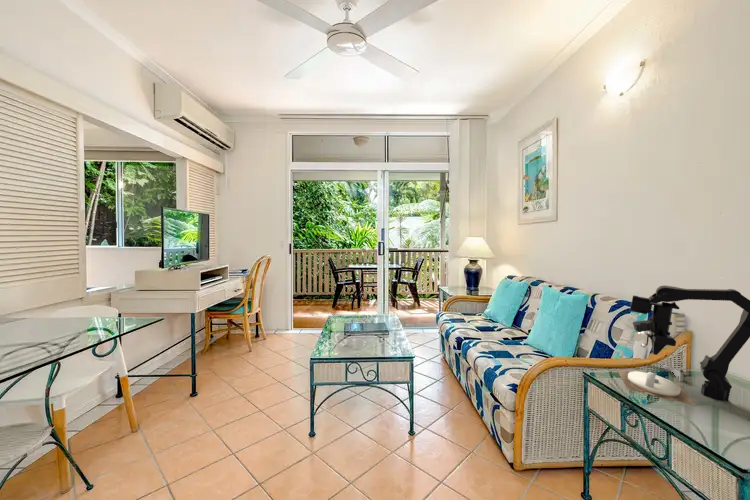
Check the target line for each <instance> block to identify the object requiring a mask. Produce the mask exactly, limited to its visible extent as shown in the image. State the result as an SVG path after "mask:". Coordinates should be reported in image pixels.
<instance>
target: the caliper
mask: <svg viewBox="0 0 750 500" xmlns="http://www.w3.org/2000/svg"><path fill="white" fill-rule="evenodd" d="M662 369H665V370H666V371H667V370H668V372H670V371H671V372H670V373H672V372H673V373H674V375H675V376H674V375H673V376H674V377H676V379H677V380H678V381H679V382H680V383H683V382H684V376H685V375H684V369H682V368H681V369H680V368H678V369H675V368H672V367H670V366H668V365H667V364H665V365H663V367H662ZM673 373H672V374H673Z"/></svg>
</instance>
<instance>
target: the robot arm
mask: <svg viewBox="0 0 750 500" xmlns="http://www.w3.org/2000/svg"><path fill="white" fill-rule="evenodd" d="M685 300H687V301H689V300H693V301H694V300H696V301H697V300H698V301H699V300H700V301H725V302H727V301H729V302H732V303H733V304H735V305H736V306H738V307H739V308H741V309H743V310H742V312H741V315H740V319H739V322H738V324H737V325H736V327H735V328H734V330H732V332H731V333H730V335H729V336H728V337H727V339H726V340H725V342H724V343H723V344H722V345H721V346H720V347H719V349H718V351H716V353H715V354H713V355H712V356H709V355H708V354H705V356H704V358H703V360H702V361H700V362H699V364H700V371H701V374H702V376H703V377H704V379H706V380H704V383H703V384H701V387H700V388H701V389H700V394H702V396H705V397H707V398H708V397H709V399H713V400H717V401H720V402H725V401H726V402H729V398H730V395H731V394H730V393H731V390H732V388H733V386H732V384H731V383H730V381H729V380H728V378H727V377H726V375H727V373H728V370H729V367H730V364H731V362H732V361H733V360H734V358H735V357H736V355H737V354H738V353H739V351H740V350H741V349H742V348H743V346H744V345H745V344H746V343H747V342H748V340H749V339H750V299H749V298H747V297H746V296H744V295H743V294H742V293H741V292H740V291H738V290H737V289H733V288H728V289H718V288H717V289H716V288H715V289H713V288H711V289H710V288H709V289H705V288H704V289H703V288H702V289H701V288H682V287H677V286H672V285H671V286H670V285H661V286H659V287H657V288H656V290H655V292H654V293H653V294H652V295H650V296H649V297H644V296H643V297H642V296H638V295H632V298H631V302H630V307H629V312H631V313H637V314H642V315H648V314H649V313H650V314H651V312H652V315H651V316H650V317H649V318H648V319H647V320H638V321H633V322H632V325H633V328H634V331H636V332H642V331H647V332H649V334H647V336H648V337H649V338H650V339H651V342H652V348H651V350H652V354H653V355H656V356H657V355H659V353H660V352H662V350H663V349H664V348H665V347H666V346H670V347H676V344H677V340H676V339H675V338H673V336H671V331H670V328H671V327H670V326H672V325H673V322H672V314H673V309H675V310H680V306H679V305H677V303H676V302H680V301H685Z"/></svg>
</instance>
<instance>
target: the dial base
mask: <svg viewBox="0 0 750 500" xmlns="http://www.w3.org/2000/svg"><path fill="white" fill-rule="evenodd" d="M629 372H630V371H627V370H622V369H617V373H618V374H619V376H620V378H621V380H622V382H623V384H624V387H625V389H626V390H630V391H633V392H637V393H641V394H642V393H643V394H646V395H651V396H654V397H658V398H662V399H666V400H671V401H674V402H679V403H682V404H683V403H684V404H687V405H691V406H696V404H695V403H694V402H693V400H692V398H690V396H689V395H688V394H687V393H686V392H685V391H684V389H683V388H682V387H681V386H680V384H679V383H678V382H677V381H673V380H671V381H672V382H674V383H675V384H677V385H678V386H679V387H680V388H681V391H680V395H678V396H664V395H659V394H655V393H652V392H649V391H646V390H643V389H641V388H639V387H637V386H635V385H633V384H632V383H631V382H630V381H629V380H628V373H629Z"/></svg>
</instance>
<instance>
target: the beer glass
mask: <svg viewBox="0 0 750 500" xmlns="http://www.w3.org/2000/svg"><path fill="white" fill-rule="evenodd" d="M634 331H635V332H634V334H633V335H634V336H633V340H632V342H633V343H632V347H633V356H632V358H641V359H646V358H649V355H650V352H651V350H652V342H651V339H650V338H649V337H648V336H647V334H649V332H650V331H642V332H636V330H634Z"/></svg>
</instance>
